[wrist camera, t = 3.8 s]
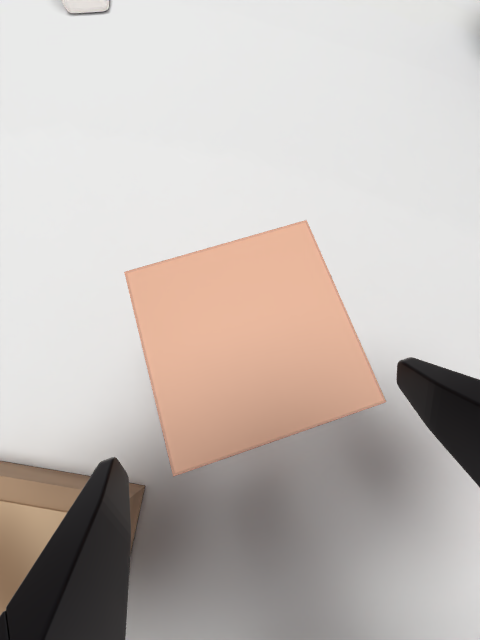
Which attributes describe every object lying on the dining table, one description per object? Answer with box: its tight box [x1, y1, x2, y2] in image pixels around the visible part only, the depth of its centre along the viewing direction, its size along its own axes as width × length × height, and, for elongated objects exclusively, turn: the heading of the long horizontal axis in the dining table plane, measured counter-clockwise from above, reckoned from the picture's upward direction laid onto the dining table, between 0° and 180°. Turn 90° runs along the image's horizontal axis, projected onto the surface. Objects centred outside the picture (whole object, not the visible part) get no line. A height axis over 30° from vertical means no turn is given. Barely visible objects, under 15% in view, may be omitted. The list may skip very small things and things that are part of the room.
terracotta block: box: [125, 220, 386, 476], centre depth 13 cm, size 5×5×12 cm
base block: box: [0, 461, 145, 615], centre depth 15 cm, size 9×9×3 cm
